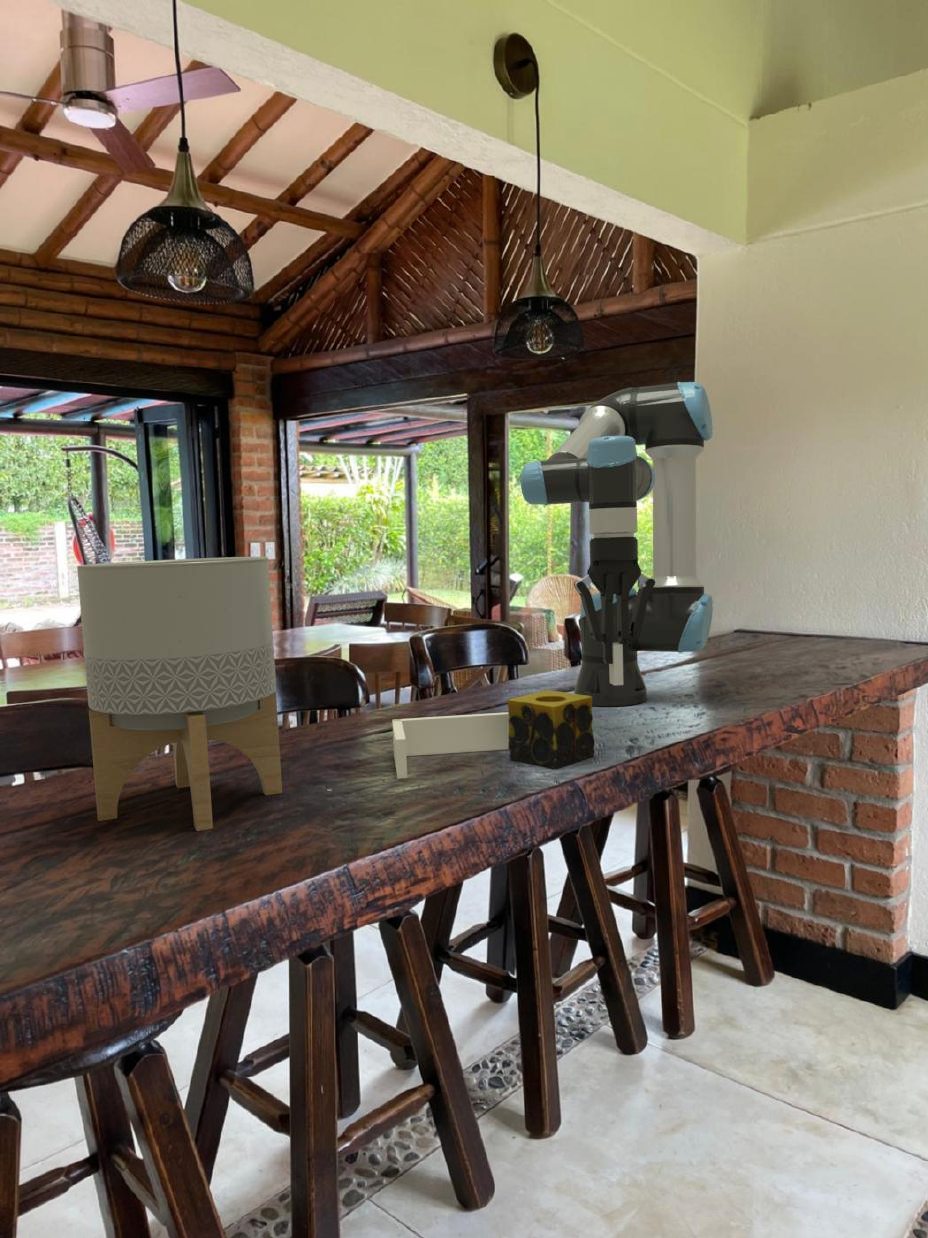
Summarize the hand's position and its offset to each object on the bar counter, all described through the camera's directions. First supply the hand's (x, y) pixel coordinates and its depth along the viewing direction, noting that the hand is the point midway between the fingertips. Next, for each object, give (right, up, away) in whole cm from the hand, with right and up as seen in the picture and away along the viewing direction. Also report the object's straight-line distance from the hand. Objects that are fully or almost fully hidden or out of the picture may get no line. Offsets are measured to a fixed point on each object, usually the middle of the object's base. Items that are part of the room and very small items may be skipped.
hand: (616, 683), depth 144 cm
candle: (-10, -12, 0) cm, 16 cm away
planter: (-63, -16, -17) cm, 67 cm away
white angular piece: (-25, -13, 0) cm, 28 cm away
